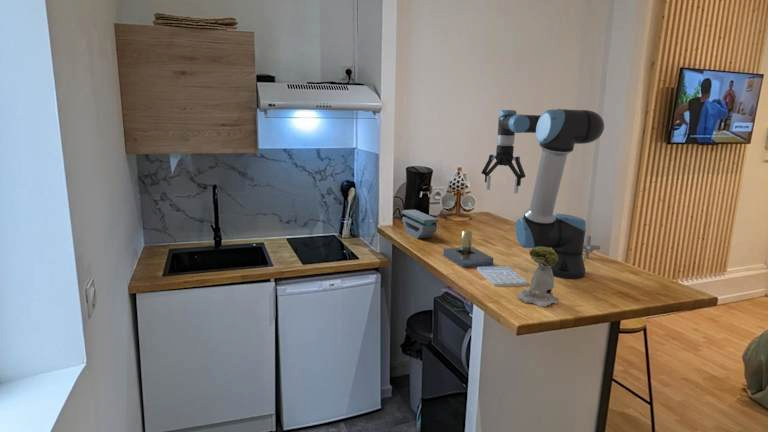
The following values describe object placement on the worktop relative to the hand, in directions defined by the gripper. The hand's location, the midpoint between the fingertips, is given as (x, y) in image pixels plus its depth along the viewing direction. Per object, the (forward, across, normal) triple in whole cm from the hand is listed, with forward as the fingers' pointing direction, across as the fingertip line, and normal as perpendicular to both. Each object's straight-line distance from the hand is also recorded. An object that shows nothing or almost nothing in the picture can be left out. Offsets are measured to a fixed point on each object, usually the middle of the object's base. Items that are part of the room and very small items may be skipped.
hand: (501, 191), depth 222 cm
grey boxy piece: (+27, +40, +6) cm, 49 cm away
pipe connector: (+27, -38, -10) cm, 47 cm away
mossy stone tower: (+27, -38, +54) cm, 71 cm away
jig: (+27, +2, +28) cm, 39 cm away
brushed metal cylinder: (+27, +3, +27) cm, 38 cm away
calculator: (+28, -18, +40) cm, 52 cm away
